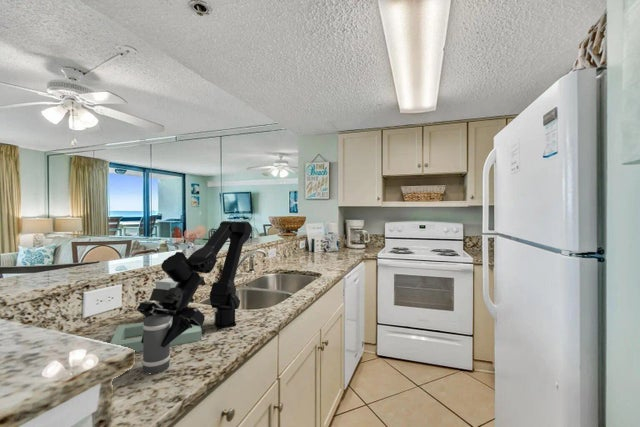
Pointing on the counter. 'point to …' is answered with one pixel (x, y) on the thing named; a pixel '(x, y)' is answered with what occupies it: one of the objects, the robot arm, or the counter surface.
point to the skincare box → (165, 286)
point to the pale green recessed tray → (137, 329)
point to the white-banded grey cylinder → (155, 343)
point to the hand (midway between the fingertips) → (152, 345)
